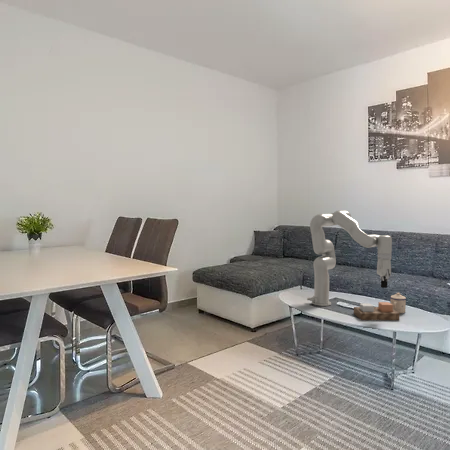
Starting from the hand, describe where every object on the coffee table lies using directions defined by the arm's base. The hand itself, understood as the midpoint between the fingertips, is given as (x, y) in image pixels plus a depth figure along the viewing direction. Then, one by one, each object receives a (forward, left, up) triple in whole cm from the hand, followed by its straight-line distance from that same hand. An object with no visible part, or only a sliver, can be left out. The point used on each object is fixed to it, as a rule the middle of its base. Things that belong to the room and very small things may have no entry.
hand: (384, 287), depth 227 cm
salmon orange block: (+1, 0, -15) cm, 15 cm away
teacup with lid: (+13, +10, -18) cm, 24 cm away
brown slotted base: (-4, 0, -18) cm, 18 cm away
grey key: (-10, 0, -15) cm, 18 cm away
